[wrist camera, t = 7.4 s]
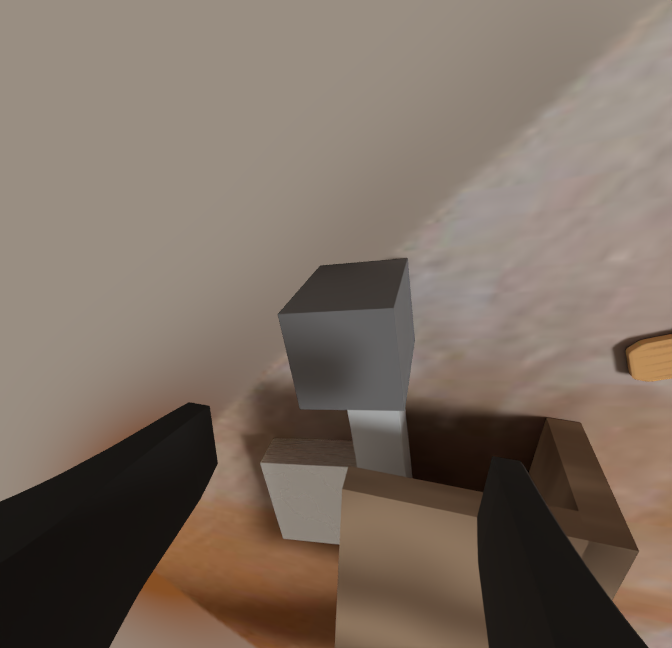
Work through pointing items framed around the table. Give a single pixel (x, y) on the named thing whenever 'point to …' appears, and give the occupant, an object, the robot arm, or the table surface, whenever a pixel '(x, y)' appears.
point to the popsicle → (651, 358)
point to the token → (308, 486)
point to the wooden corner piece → (459, 546)
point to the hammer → (356, 354)
